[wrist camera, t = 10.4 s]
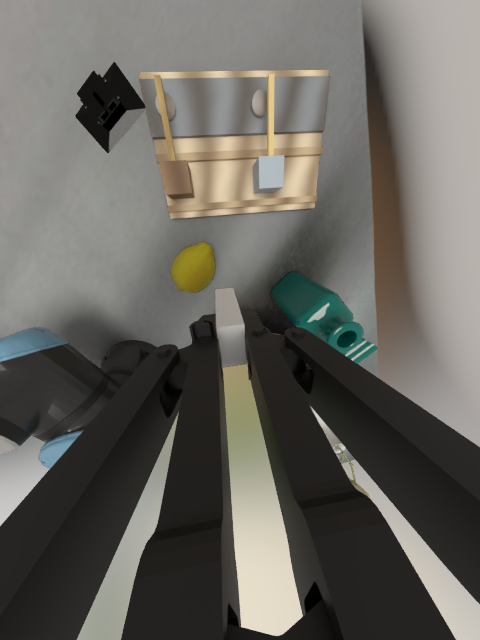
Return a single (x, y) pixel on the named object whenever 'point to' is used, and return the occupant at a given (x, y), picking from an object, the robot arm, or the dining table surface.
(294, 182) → the gauge board
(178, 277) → the lemon
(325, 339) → the pitcher
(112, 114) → the black stand
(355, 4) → the dining table surface
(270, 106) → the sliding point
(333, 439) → the flower in vase
